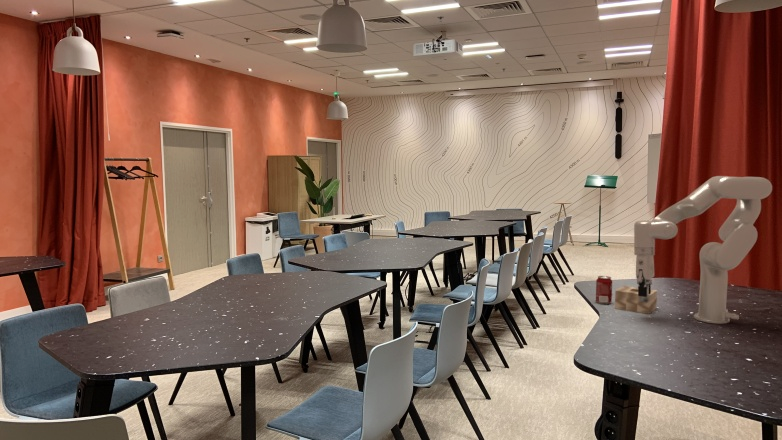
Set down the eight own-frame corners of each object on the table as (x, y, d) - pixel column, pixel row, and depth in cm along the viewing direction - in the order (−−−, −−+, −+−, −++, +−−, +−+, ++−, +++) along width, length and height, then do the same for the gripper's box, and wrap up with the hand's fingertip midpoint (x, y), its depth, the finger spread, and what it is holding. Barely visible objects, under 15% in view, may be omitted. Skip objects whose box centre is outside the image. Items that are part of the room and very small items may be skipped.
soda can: (609, 305, 243) (610, 279, 242) (593, 303, 247) (594, 277, 246) (613, 302, 248) (614, 276, 247) (598, 300, 252) (599, 274, 251)
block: (656, 308, 238) (657, 290, 237) (648, 313, 229) (649, 295, 228) (623, 303, 247) (623, 285, 246) (614, 308, 238) (615, 290, 237)
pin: (653, 300, 223) (653, 279, 222) (649, 303, 218) (649, 281, 218) (639, 299, 226) (639, 278, 225) (635, 302, 222) (635, 280, 221)
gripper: (648, 254, 211) (648, 300, 213) (659, 248, 224) (659, 291, 226) (628, 253, 216) (628, 298, 218) (640, 247, 229) (640, 289, 231)
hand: (644, 294), depth 222 cm, fingers closed on pin, 4 cm apart
